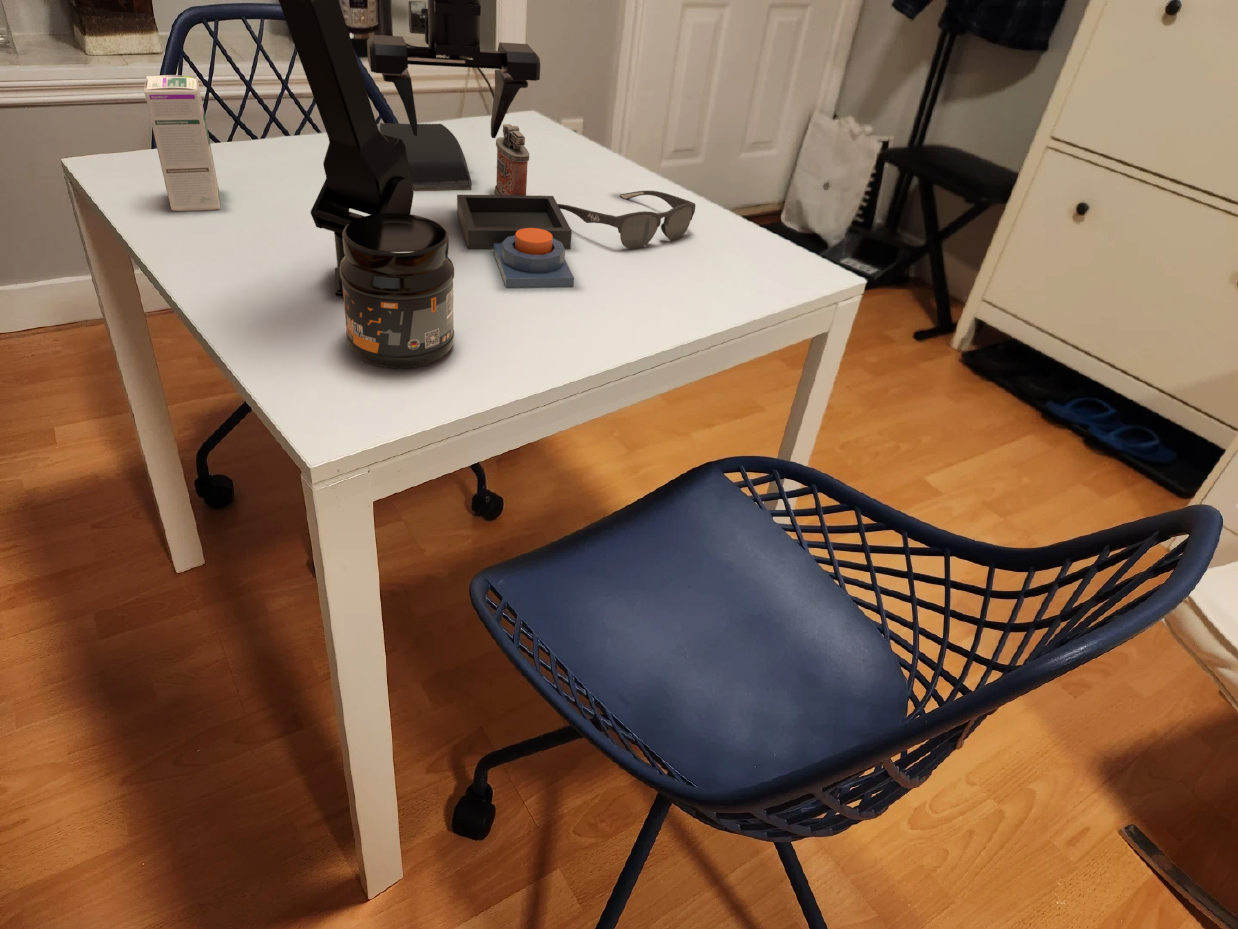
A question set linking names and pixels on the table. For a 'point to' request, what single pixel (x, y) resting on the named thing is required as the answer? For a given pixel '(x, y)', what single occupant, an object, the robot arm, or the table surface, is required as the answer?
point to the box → (532, 266)
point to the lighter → (511, 162)
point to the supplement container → (397, 289)
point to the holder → (509, 218)
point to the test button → (533, 241)
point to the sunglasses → (643, 219)
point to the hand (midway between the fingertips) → (454, 136)
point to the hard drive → (431, 155)
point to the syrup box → (182, 142)
